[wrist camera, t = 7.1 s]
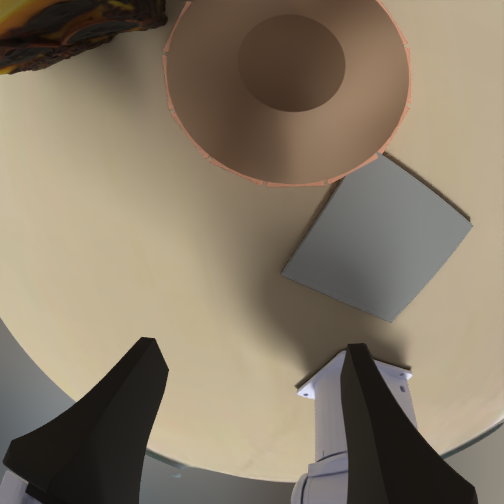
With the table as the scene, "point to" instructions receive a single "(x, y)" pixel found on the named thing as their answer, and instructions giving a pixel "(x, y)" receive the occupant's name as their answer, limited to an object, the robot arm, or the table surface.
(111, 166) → the table surface
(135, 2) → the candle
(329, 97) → the lid
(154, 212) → the table surface
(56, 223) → the table surface
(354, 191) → the mat
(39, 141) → the table surface
